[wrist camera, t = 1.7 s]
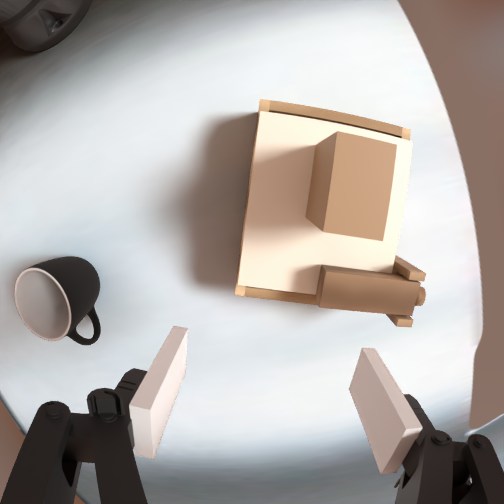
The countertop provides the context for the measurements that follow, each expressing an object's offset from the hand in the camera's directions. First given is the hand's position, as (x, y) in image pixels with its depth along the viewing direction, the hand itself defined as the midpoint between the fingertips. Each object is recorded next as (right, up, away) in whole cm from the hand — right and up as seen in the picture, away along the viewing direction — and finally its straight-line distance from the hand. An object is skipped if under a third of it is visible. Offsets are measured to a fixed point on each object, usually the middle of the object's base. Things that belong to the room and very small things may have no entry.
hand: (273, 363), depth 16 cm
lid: (+6, +10, +16) cm, 19 cm away
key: (+11, +2, +16) cm, 19 cm away
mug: (-24, +1, +25) cm, 34 cm away
